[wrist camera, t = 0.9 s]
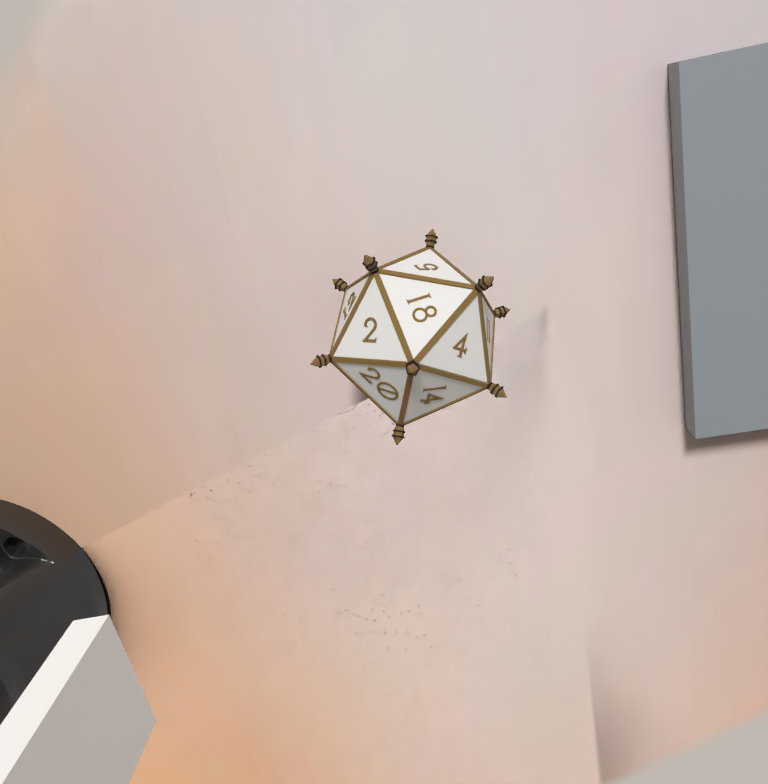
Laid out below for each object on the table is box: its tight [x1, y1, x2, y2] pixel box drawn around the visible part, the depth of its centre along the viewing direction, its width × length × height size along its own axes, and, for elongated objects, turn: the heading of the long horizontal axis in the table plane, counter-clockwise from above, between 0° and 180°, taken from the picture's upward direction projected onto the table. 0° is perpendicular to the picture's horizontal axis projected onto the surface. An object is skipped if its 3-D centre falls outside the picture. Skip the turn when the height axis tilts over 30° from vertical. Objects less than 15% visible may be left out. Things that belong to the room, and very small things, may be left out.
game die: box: [311, 229, 510, 445], centre depth 31 cm, size 9×8×10 cm
